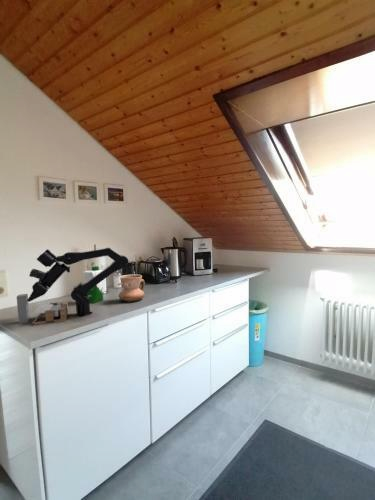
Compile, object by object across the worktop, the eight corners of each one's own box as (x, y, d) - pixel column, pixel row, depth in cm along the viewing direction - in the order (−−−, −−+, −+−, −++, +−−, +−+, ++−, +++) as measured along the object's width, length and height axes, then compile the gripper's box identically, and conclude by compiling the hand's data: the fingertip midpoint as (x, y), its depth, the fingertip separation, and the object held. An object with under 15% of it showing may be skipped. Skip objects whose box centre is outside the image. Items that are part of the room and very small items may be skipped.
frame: (65, 320, 131) (64, 309, 131) (32, 325, 127) (31, 312, 127) (68, 311, 146) (67, 301, 146) (39, 315, 142) (38, 304, 142)
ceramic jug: (126, 305, 155) (125, 279, 154) (112, 300, 165) (111, 276, 164) (152, 299, 168) (152, 275, 167) (138, 295, 178) (137, 272, 177)
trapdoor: (58, 316, 132) (58, 309, 132) (35, 317, 129) (35, 311, 129) (61, 309, 144) (61, 303, 143) (40, 311, 141) (40, 304, 140)
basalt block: (29, 319, 136) (27, 293, 135) (27, 322, 132) (25, 295, 131) (21, 320, 135) (19, 294, 134) (18, 323, 131) (16, 296, 130)
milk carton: (105, 300, 168) (103, 266, 167) (93, 304, 160) (90, 268, 159) (95, 298, 173) (93, 266, 171) (83, 302, 165) (80, 268, 164)
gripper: (43, 260, 143) (20, 284, 140) (36, 264, 125) (9, 292, 123) (62, 275, 146) (39, 298, 143) (57, 280, 128) (31, 307, 126)
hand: (30, 298), depth 134 cm, fingers open, 9 cm apart
